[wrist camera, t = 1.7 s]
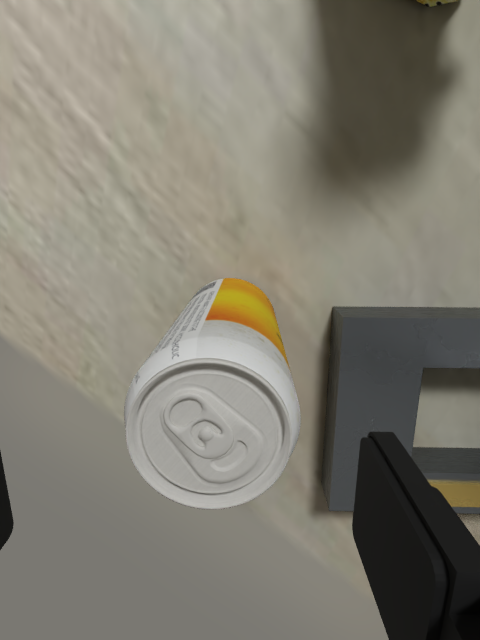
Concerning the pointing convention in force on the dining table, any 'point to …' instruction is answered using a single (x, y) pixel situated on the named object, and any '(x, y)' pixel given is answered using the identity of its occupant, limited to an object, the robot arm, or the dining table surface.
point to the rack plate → (395, 394)
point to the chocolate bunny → (435, 2)
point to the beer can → (215, 401)
